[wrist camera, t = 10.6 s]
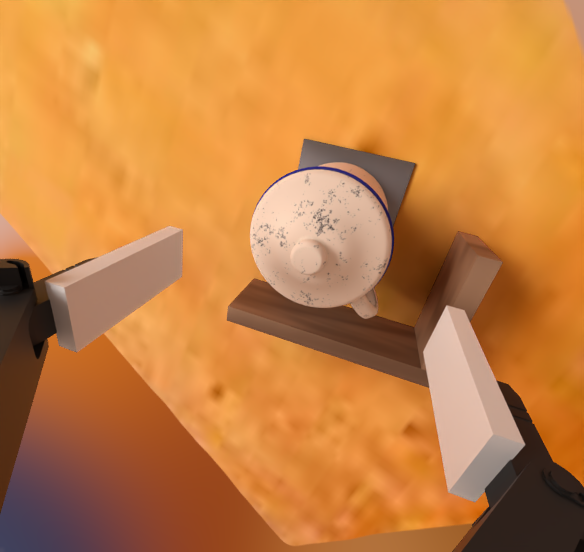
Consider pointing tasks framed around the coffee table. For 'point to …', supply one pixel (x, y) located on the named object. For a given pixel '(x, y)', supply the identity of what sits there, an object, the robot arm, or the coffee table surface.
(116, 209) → the coffee table surface
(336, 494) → the coffee table surface
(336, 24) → the coffee table surface
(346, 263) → the teacup with lid
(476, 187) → the coffee table surface
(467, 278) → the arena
